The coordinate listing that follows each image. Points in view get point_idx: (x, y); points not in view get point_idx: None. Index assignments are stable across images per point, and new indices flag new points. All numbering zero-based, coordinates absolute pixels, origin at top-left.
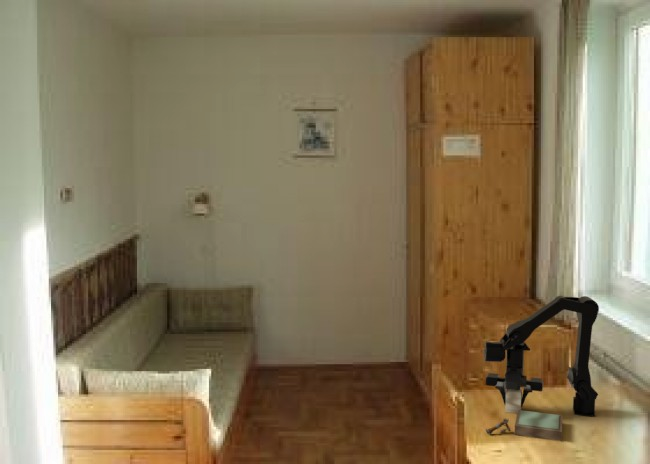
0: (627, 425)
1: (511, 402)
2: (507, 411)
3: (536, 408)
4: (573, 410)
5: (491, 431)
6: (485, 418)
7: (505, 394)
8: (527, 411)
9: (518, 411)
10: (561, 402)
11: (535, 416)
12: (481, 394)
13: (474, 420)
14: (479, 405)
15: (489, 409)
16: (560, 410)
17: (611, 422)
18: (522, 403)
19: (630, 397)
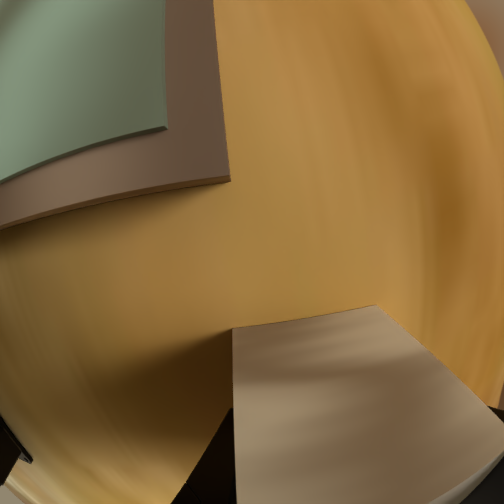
0: None
1: (370, 382)
2: (361, 312)
3: (155, 453)
4: (1, 426)
5: None
6: (467, 97)
7: None
8: (64, 142)
9: (208, 101)
10: (101, 499)
11: (1, 56)
12: None
13: (487, 60)
14: (498, 323)
15: (469, 293)
16: (49, 441)
17: None
18: (224, 437)
19: (20, 495)
